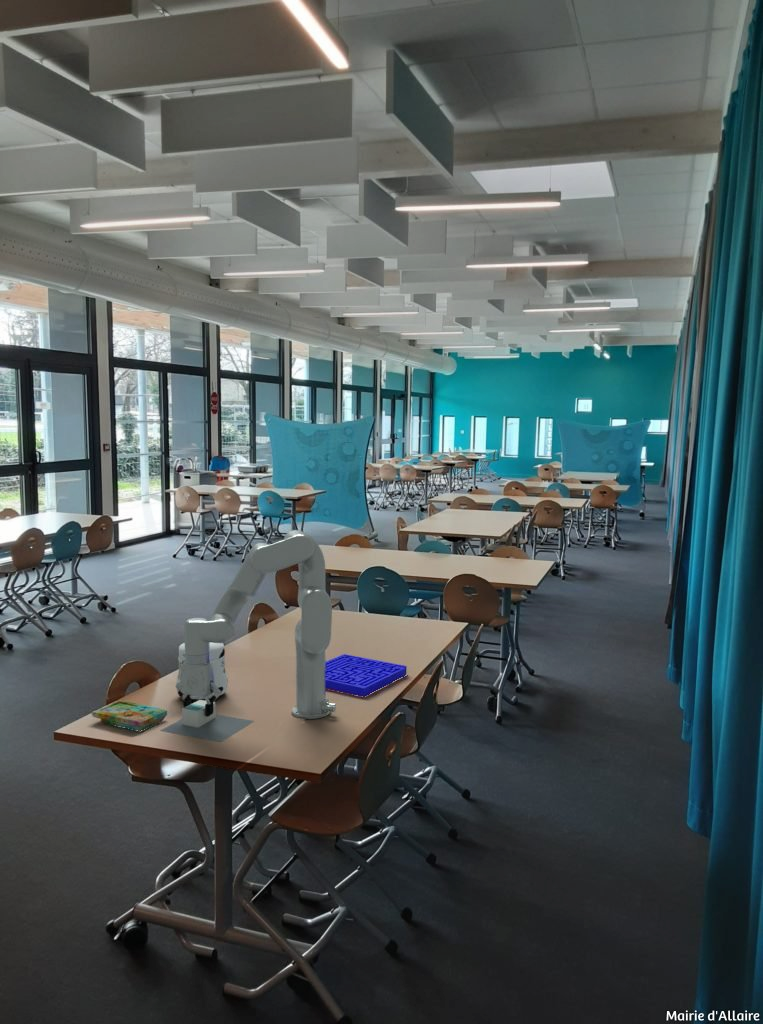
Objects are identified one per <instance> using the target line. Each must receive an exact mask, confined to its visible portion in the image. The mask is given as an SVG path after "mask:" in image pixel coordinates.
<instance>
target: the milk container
mask: <svg viewBox="0 0 763 1024" xmlns="http://www.w3.org/2000/svg"><path fill="white" fill-rule="evenodd" d="M225 650H226V649H225V643H212V642H210V662H211V663H212V667H213V673H214V684H215V685H216V686H217V687H218V689H219V690H220V691H221V693H220V695H219V696H218V698H219V697H222V696H223V695H224V694H225V693H226V692H227V689H228V684H229V683H228V682H229V681H228V679H229V678H228V674H227V672H226V662H225V661H226V660H225V659H226V655H225V654H226V653H225V652H226V651H225ZM183 653H185V642H183V643H181V644H180V645H179V646H178V658H177V659H178V662H177V663H178V673H177V677H176V682H175V683H176V684H175V686H176V685H177V684H178V683H180V680H181V670H182V665H183V662H185V657H183ZM176 691H177V694H178V696H179V697H180V698H182V697H181V695H180V694H179V691H178V690H177V689H176ZM212 694H213V695H214V692H213V693H212ZM190 697H191V699H192V702H193V701H194V702H196V701H198V700H204V701H206V700H205V698H204V697H199V696H192V695H191V696H190ZM208 697H209V695H208ZM209 699H210V697H209Z"/></svg>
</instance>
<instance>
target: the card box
mask: <svg viewBox="0 0 763 1024" xmlns="http://www.w3.org/2000/svg"><path fill="white" fill-rule="evenodd" d="M205 704H207V702H206V700H205V701H204V700H198V701H194V702H192V704H190V705H188V706H187V707H185V708H184V707H182V708H181V719H182V725H187V726H192V727H200V726H202V725H203V724H205V723H207V722H209V721H211V720H212V719H214V718H216V714H217V713H216V712H217V711H216V702H215V701H214V702H213V710H214V711H213V714H212V715H210V716H208V717H206V716H205Z"/></svg>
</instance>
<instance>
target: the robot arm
mask: <svg viewBox="0 0 763 1024" xmlns="http://www.w3.org/2000/svg"><path fill="white" fill-rule="evenodd" d="M295 565H298V590H297V591H298V593H297V604H298V606H299V608H300V610H301V619H299V620H298V621H297V623H296V624H295V627H294V644H295V679H296V680H295V683H296V684H295V689H296V690H295V692H296V693H295V695H296V696H295V699H296V702H295V706H293V707H292V708H291V714H292V716H294V717H295V718H299V719H305V720H313V719H315V720H316V719H321V718H324V717H327V716H328V715H330V713H331V712H332V713H335V712H336V710H337V707H336V706H337V704H336V703H331V702H329V697H326V695H327V694H326V690H327V689H326V671H325V666H326V661H327V660H326V650H327V649H328V647H329V646H330V643H331V640H332V639H331V638H332V627H333V626H332V623H333V621H332V620H333V604H332V599H331V597H330V595H329V593H327V591H326V561H325V555H324V553H323V550H322V549H321V547H320V545H319V544H318V543H317V541H316V540H315V539H314V538H313V537H312V536H310V534H308V533H306V532H304V531H302V530H298V529H293V530H290V531H288V532H286V534H285V535H284V538H283V540H280V541H276V542H274V543H271V544H268V543H265V542H258V543H256V544H254V545H253V546H252V547H251V548H250V550H249V552H248V553H247V555H246V557H245V559H244V560H243V562H242V564H241V566H240V567H239V569H238V570H237V571H238V572H237V573H236V574H235V577H234V579H233V580H232V581H231V584H230V585H229V587H228V588H227V590H226V591H225V593H224V594H223V596H222V597H221V598H220V600H219V602H218V604H217V606H216V608H215V610H214V611H213V612H212V613H213V614H212V615H211V617H210V619H209V620H208V619H207V618H205V617H192V618H189V619H187V620H185V621H184V624H183V626H184V629H183V630H184V643H185V653H183V657H185V662H183V665H182V670H181V680H180V683H178V684H177V685H176V684H175V688H176V691H177V690H178V691H179V694H180V695H181V697H180V698H181V700H182V701H183V708H185V707H187V706H188V705H190V704H192V703H193V701H192V699H191V697H190V696H191V695H192V696H199V697H204V698H205V701H206V702H207V704H205V716H206V717H208V716H210V715H212V714H213V711H214V710H213V702H215V701H216V700H217V699H218V698H219V697H218V696H219V695H220V693H221V691H220V690H219V689H218V687H217V686H216V685H215V684H214V673H213V667H212V663H211V662H210V642H212V643H223V644H226V643H229V642H230V641H232V640H233V638H234V636H235V634H236V633H235V632H236V630H235V624H234V623H235V622H236V621H237V618H238V616H239V615H240V613H241V611H242V610H243V608H244V607H245V605H246V604H247V603H248V602H250V601H252V600H253V599H254V598H255V597H256V596H257V594H258V593H259V591H260V589H261V587H262V586H263V583H264V582H265V580H266V578H267V576H268V575H269V574H272V573H275V572H278V571H281V570H284V569H286V568H289V567H292V566H295ZM213 692H214V695H213V694H212V693H213ZM179 694H178V695H179ZM208 695H209V697H210V699H209V697H208Z"/></svg>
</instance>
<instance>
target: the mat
mask: <svg viewBox="0 0 763 1024" xmlns="http://www.w3.org/2000/svg"><path fill="white" fill-rule="evenodd" d="M254 722H255V720H252V719H251V720H250V719H245V718H240V717H233V716H227V715H223V714H217V713H216V718H214V719H212V720H211V721H209V722H207V723H205V724H203V725H202V726H200V727H192V726H187V725H182V718H180V719H179V720H177V721H175V722H173V723H172V724H170V725H168V726H166V727H164V728H162V729H160V731H161V732H165V733H171V734H174V735H175V734H176V735H181V736H187V737H191V738H196V739H201V740H207V741H212V742H219V743H222V742H224V741H226V740H227V739H229V738H230V737H231V736H232V737H233V735H234V734H236V733H238V732H239V731H241V730H243V729H245V728H246V727H248V726H249V725H251V724H252V723H254Z"/></svg>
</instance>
